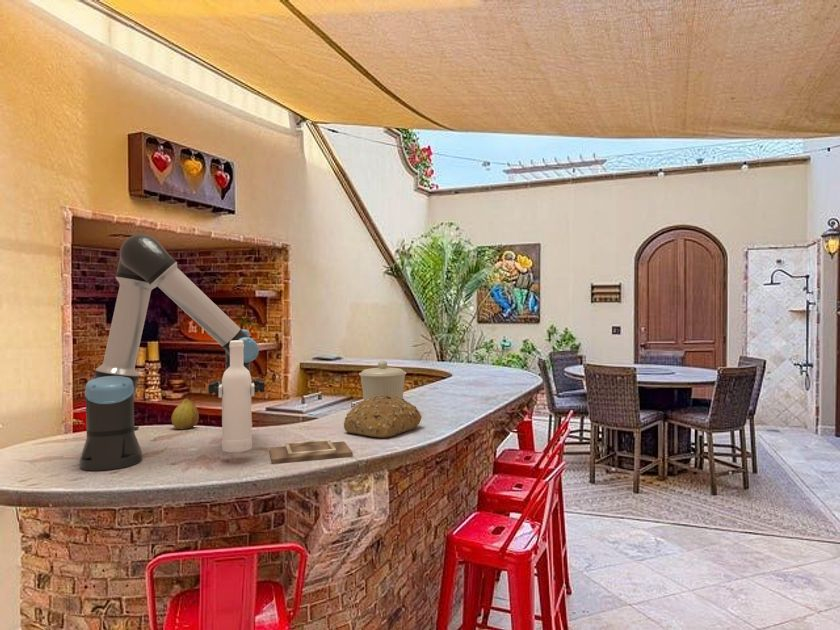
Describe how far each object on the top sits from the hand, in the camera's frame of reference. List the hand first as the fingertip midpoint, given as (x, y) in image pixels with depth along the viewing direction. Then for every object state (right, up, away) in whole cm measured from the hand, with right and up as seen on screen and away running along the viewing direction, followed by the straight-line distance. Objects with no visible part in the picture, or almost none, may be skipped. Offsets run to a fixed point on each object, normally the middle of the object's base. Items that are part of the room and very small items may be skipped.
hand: (236, 391), depth 157 cm
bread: (+36, -19, +40) cm, 58 cm away
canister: (+35, -18, +67) cm, 78 cm away
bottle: (-1, -17, +5) cm, 17 cm away
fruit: (-34, -20, +50) cm, 64 cm away
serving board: (+18, -19, +11) cm, 28 cm away
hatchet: (-51, -21, +40) cm, 68 cm away
